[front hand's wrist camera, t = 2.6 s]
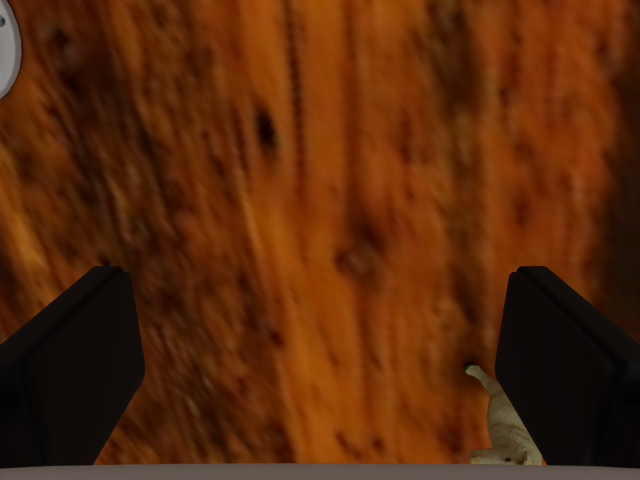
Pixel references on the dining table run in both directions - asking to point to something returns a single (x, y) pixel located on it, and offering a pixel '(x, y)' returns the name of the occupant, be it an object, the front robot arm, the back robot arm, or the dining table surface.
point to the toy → (503, 429)
